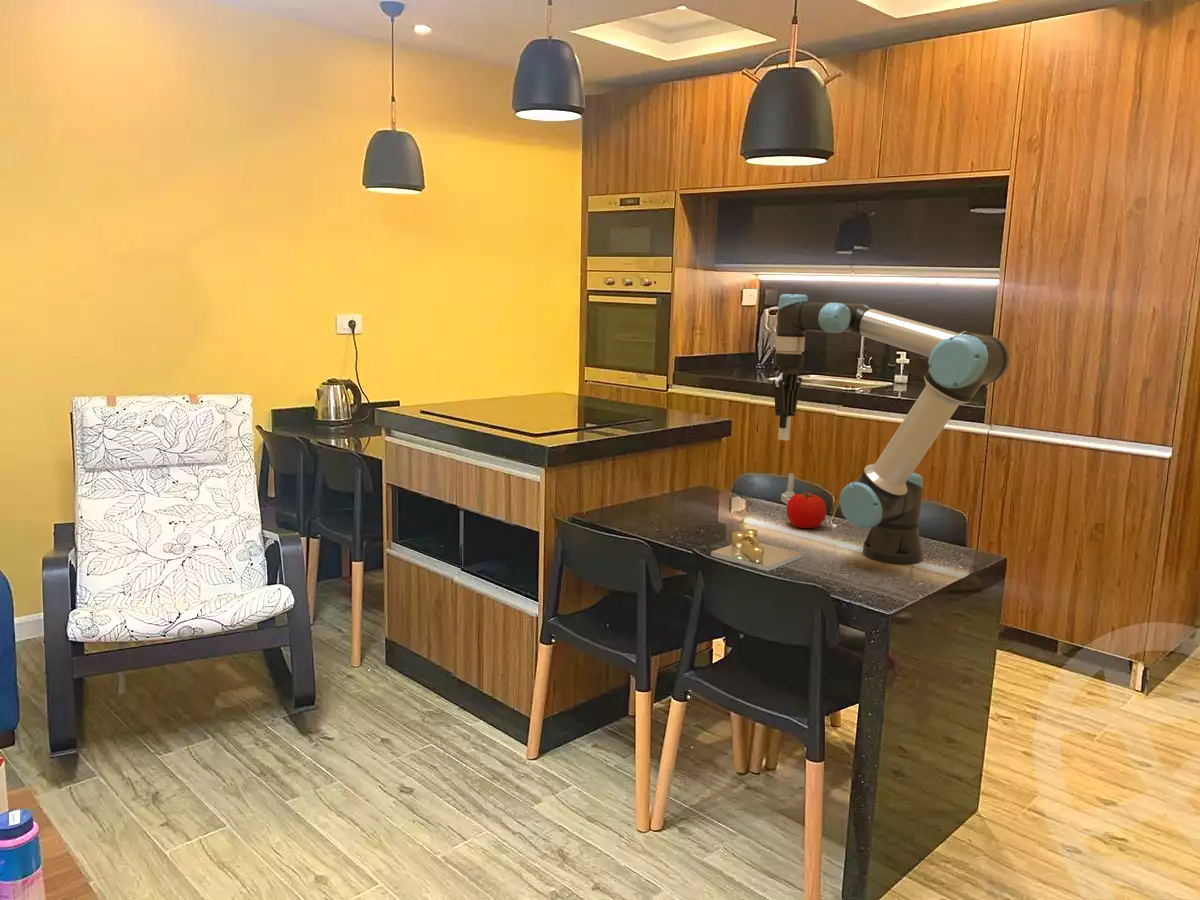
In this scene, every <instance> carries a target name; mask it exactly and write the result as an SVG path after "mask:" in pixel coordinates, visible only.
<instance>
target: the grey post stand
mask: <svg viewBox="0 0 1200 900" xmlns="http://www.w3.org/2000/svg"><path fill="white" fill-rule="evenodd" d="M787 480H788V481H787V485H786V487H787V488H786V491H785V492H784V493H781V495H780V501H781V503H783V504H785V505H786V506H787V505H788V501H789V500H790V499H791V497H792V496H793V495H795V494H796V493H795V492H794V488H795V487H794V486H795V483H794V482H795V473H793V472H792V473H790V472H789V473H788V479H787Z"/></svg>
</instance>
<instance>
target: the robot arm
mask: <svg viewBox="0 0 1200 900" xmlns="http://www.w3.org/2000/svg"><path fill="white" fill-rule="evenodd" d="M808 299H809V298H808V295H806V294H801V293H800V294H799V293H798V294H796V293H795V294H793V293H792V294H791V293H783V294H780V295H779V298H778V303H777V304H778V305H777V306H778V307H777V312H776V313H777V315H776V316H777V321H776V324H777V326H776V339H775V340H774V343H775V352H776V353H775V354H774V366H775V367H776V368H778V373H777V378H776V379H774V378H773V380H772V386H773V392H774V393H773V394H774V395H773V396H774V411H775V412H774V414H775V416H777V417H779V420H778V431H777V432H778V436H777V440H780V441H790V439H791V438H790V437H791V424H792V422H791V421H792V417H795V416H796V411H797V406H798V401H799V400H798V399H799V396H800V395H799V394H800V389H801V384H802V381H803V378H802V377H799V371H798V370H799V369H801V368H803V367H804V356H805V355H804V354H803V353H804V352H805V344H806V343H805V342H806V332H815V333H816V332H817V333H827V334H828V333H829V334H837V333H839V334H841V333H850V334H854V335H856V336H861V337H864V338H868V339H870V340H874V341H876V342H881V343H883V344H887V345H889V346H892V347H896V348H900V349H902V350H906V351H908V352H912V353H915V354H917V355H918V354H919V355H921V356H924V357H927V358H928V370H927V372H926V373H925V374H924V376H923V378H924V382H925V386H924V389H923V390H922V392H921V393H920V394H919V396H918V398H917V399H915V402H914V403H913V405H912V407H911V408H910V410H908V413H907V414H906V416H905V417H904V419H903V420H902V422H901V423H900V425H899V427H898V428H897V430H896V431H895V433H894V434H893V436H892V437H891V438H890V440H889V442H888V443H887V444H886V446H885V448H884V449H883V450H882V452H881V454H879V457H878V459H877V460H875V461H876V462H875V463H872V464H867V465H866V466H865V467H864V469H863V470H862V471H861V473H860V474H859V475H858V477H857V479H856V480H855V481H852V482H849V484H847V485H845V486H844V487H843V488H842V490H841V491H840V495H839V502H838V503H839V506H840V511H841V513H842V515H843V517H844V518H845V520H846V521H847V522H849V523H850V524H851V525H853V526H854V527H857V528H862V529H863V528H864V529H866V528H869V531H868V534H867V535H866V536H865V537H866V538H865V540H864V541H863V547H862V553H863V555H864V556H866V557H868V558H869V559H872V560H876V561H878V562H879V561H880V562H884V563H891V564H899V565H901V564H902V565H903V564H905V565H906V564H908V565H909V564H917V563H920V562H921V561H923V556H924V555H923V554H924V550H923V545H922V541H921V537H920V533H919V524H920V523H919V522H920V517H921V515H920V514H921V508H922V507H921V506H922V497H923V490H924V486H923V485H924V483H923V482H924V479H923V476H922V475H921V474H919V473H916V472H914V471H915V470H916V468H917V467H918V465H919V464H920V463H921V461H922V459H923V458H924V456H925V455H926V454H927V452H928V451H929V450H930V448H931V447H932V445H933V444H934V442H935V440H936V439H937V438H938V436H939V435H940V434H941V432H942V430H944V428H945V426H946V424H947V423H948V422H949V420H951V418H952V417H953V414H954V413H955V411H957V409H958V407H959V406H960V405H964V404H969V403H970V402H971V400H972V399H973V398H974V396H975V395H976V393H977V392H978V391H979V389H980V388H981V386H983V385H984V386H985V385H989V384H991V383H995V382H996V381H999V380H1000V378H1001V377H1003V376H1004V375H1005V374H1006V372H1007V370H1008V368H1009V364H1010V353H1009V349H1008V347H1007V346H1006V344H1005V343H1004V342H1003V341H1002V340H1001V339H999V338H998V337H997V336H993V335H987V334H980V333H974V332H971V331H967V330H964V331H962V332H959V333H958V332H956V331H955V332H954V331H952V330H948V329H945V328H941V327H938V326H934V325H930V324H928V323H923V322H921V321H920V322H919V321H917V320H913V319H910V318H906V317H903V316H899V315H895V314H892V313H888V312H884V311H882V310H878V309H874V308H871V307H870V306H868V305H867V304H862V303H857V302H854V303H852V302H851V303H844V302H842V303H841V302H812V301H811V302H810V301H809V300H808Z"/></svg>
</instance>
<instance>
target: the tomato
mask: <svg viewBox="0 0 1200 900" xmlns="http://www.w3.org/2000/svg"><path fill="white" fill-rule="evenodd" d="M800 492H801V493H795V495H793V496H792V497H791V499H790V500H789V501H788V505H786V516H787V519H788V520H789V522H790V523H791V524H792V525H793V526H794V527H796V528H801V529H812V528H813V529H814V528H816V527H818V526H819V525H821V524H823V523H822V522H823V521H824V520H825V518H826V517H827V506H826V502H825V500H824V499H823V498H821V497H820V496H818V495H816V494H815V493H809V492H804V491H802V490H800Z"/></svg>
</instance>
